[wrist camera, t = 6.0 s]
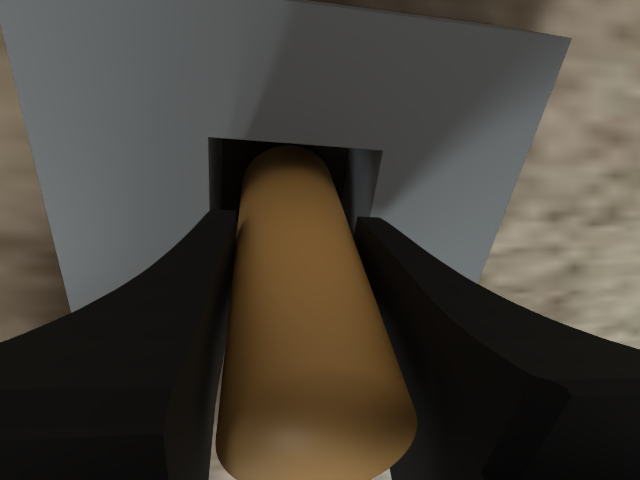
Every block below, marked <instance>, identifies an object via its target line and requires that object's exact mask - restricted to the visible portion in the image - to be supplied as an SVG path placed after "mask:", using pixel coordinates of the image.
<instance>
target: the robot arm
mask: <svg viewBox="0 0 640 480" xmlns="http://www.w3.org/2000/svg"><path fill="white" fill-rule="evenodd" d="M353 239H354V241H355V244H356V247H357V250H358V253H359V255H360V258H361V261H362V264H363V267H364V269H365V272H366V275H367V278H368V280H369V283H370V286H371V289H372V292H373V294H374V297H375V300H376V303H377V306H378V308H379V311H380V314H381V317H382V319H383V322H384V325H385V328H386V331H387V333H388V336H389V339H390V342H391V345H392V347H393V350H394V353H395V356H396V358H397V361H398V364H399V367H400V370H401V372H402V375H403V378H404V381H405V384H406V386H407V389H408V392H409V395H410V397H411V400H412V403H413V406H414V409H415V412H416V415H417V430H416V434H415V437H414V440H413V442H412V443H411V445H410V447H409V448H408V450H407V451H406V453H405V454H404V455H403V456H402V457H401V458H400V459H399V460H398V461H397V462H396V463H395V464H394V465H393V466H391V467H390V472H391V477H392V480H640V349H636V348H633V347H630V346H626V345H623V344H620V343H616V342H613V341H609V340H606V339H603V338H600V337H598V336H595V335H592V334H589V333H586V332H584V331H581V330H578V329H575V328H573V327H570V326H567V325H564V324H562V323H559V322H557V321H554V320H552V319H549V318H547V317H544V316H542V315H540V314H538V313H535V312H533V311H531V310H529V309H526V308H524V307H522V306H520V305H517V304H515V303H513V302H511V301H509V300H507V299H505V298H503V297H501V296H499V295H497V294H495V293H493V292H491V291H490V290H488V289H486V288H484V287H482V286H480V285H479V284H477V283H475V282H473V281H471V280H470V279H468V278H466V277H465V276H463V275H461V274H460V273H458V272H457V271H455V270H454V269H452V268H451V267H449V266H448V265H446V264H444V263H443V262H441V261H440V260H439V259H437V258H436V257H434V256H433V255H431V254H430V253H429V252H427V251H426V250H424V249H423V248H422V247H420V246H419V245H418V244H416V243H415V242H414V241H412V240H411V239H410V238H408V237H407V236H406V235H404V234H403V233H402V232H400V231H399V230H398V229H396V228H395V227H394V226H392V225H391V224H389V223H388V222H386V221H385V220H383V219H381V218H380V217H360V216H357V220H356V225H355V231H354V236H353ZM235 248H236V210H218V209H211V210H210V211H208V212H207V213H206V214H205V215H204V216H203V218H202V219H201V220H200V221H199V222H198V223H197V224H196V225H195V226H194V227H193V228H192V229H191V230H190V231H189V232H188V233H187V234H186V235H185V236H184V237H183V238H182V239H181V240H180V241H179V242H178V243H177V244H176V245H175V246H174V247H173V248H172V249H170V250H169V251H168V252H167V253H166V254H165V255H163V256H162V257H161V258H160V259H159V260H157V261H156V262H155V263H154V264H153V265H151V266H150V267H149V268H147V269H146V270H145V271H143V272H142V273H140V274H139V275H137V276H136V277H134V278H133V279H131V280H130V281H128V282H127V283H125V284H124V285H122V286H120V287H119V288H117V289H115V290H114V291H112V292H110V293H108V294H106V295H104V296H102V297H101V298H99V299H97V300H95V301H93V302H91V303H89V304H88V305H86V306H84V307H82V308H80V309H78V310H76V311H74V312H72V313H70V314H68V315H66V316H63V317H61V318H59V319H57V320H55V321H53V322H50V323H48V324H46V325H43V326H41V327H38V328H36V329H34V330H31V331H29V332H27V333H24V334H22V335H19V336H17V337H14V338H11V339H9V340H6V341H3V342H0V480H208V479H209V468H210V457H211V446H212V435H213V424H214V413H215V403H216V396H217V389H218V383H219V378H220V373H221V368H222V363H223V358H224V353H225V346H226V336H227V326H228V316H229V306H230V297H231V287H232V277H233V267H234V258H235Z"/></svg>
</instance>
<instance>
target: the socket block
mask: <svg viewBox="0 0 640 480" xmlns="http://www.w3.org/2000/svg"><path fill="white" fill-rule="evenodd" d="M0 24H1V28H2V32H3V36H4V40H5V44H6V49H7V53H8V57H9V61H10V65H11V69H12V73H13V77H14V81H15V85H16V89H17V93H18V98H19V102H20V106H21V110H22V114H23V118H24V122H25V126H26V130H27V134H28V138H29V143H30V147H31V151H32V155H33V159H34V163H35V167H36V171H37V175H38V179H39V183H40V187H41V192H42V196H43V200H44V204H45V208H46V212H47V216H48V220H49V224H50V228H51V232H52V236H53V241H54V245H55V249H56V253H57V257H58V261H59V265H60V269H61V273H62V277H63V281H64V285H65V290H66V294H67V298H68V302H69V306H70V310H71V313H72V312H74V311H76V310H78V309H80V308H82V307H84V306H86V305H88V304H89V303H91V302H93V301H95V300H97V299H99V298H101V297H102V296H104V295H106V294H108V293H110V292H112V291H114V290H115V289H117V288H119V287H120V286H122V285H124V284H125V283H127V282H128V281H130V280H131V279H133V278H134V277H136V276H137V275H139V274H140V273H142V272H143V271H145V270H146V269H147V268H149V267H150V266H151V265H153V264H154V263H155V262H156V261H157V260H159V259H160V258H161V257H162V256H163V255H165V254H166V253H167V252H168V251H169V250H170V249H172V248H173V247H174V246H175V245H176V244H177V243H178V242H179V241H180V240H181V239H182V238H183V237H184V236H185V235H186V234H187V233H188V232H189V231H190V230H191V229H192V228H193V227H194V226H195V225H196V224H197V223H198V222H199V221H200V220H201V219H202V218H203V216H204V215H205V214H206V213H207V212H208V211H210V210H211V209H218V210H222V175H221V138H228V139H241V140H254V141H267V142H280V143H293V144H306V145H319V146H332V147H345V148H350V149H349V155H348V161H347V168H346V174H345V180H344V187H343V193H342V199H341V205H342V208H343V211H344V214H345V216H346V219H347V222H348V225H349V228H350V230H351V233H352V236H354V231H355V225H356V220H357V216H360V217H380V218H381V219H383V220H385V221H386V222H388V223H389V224H391V225H392V226H394V227H395V228H396V229H398V230H399V231H400V232H402V233H403V234H404V235H406V236H407V237H408V238H410V239H411V240H412V241H414V242H415V243H416V244H418V245H419V246H420V247H422V248H423V249H424V250H426V251H427V252H429V253H430V254H431V255H433V256H434V257H436V258H437V259H439V260H440V261H441V262H443V263H444V264H446V265H448V266H449V267H451V268H452V269H454V270H455V271H457V272H458V273H460V274H461V275H463V276H465V277H466V278H468V279H470V280H471V281H473V282H475V283H478V280H479V278H480V275H481V273H482V270H483V268H484V265H485V262H486V260H487V257H488V255H489V252H490V249H491V247H492V244H493V242H494V239H495V236H496V234H497V231H498V229H499V226H500V223H501V221H502V218H503V216H504V213H505V210H506V208H507V205H508V203H509V200H510V197H511V195H512V192H513V190H514V187H515V184H516V182H517V179H518V177H519V174H520V172H521V169H522V166H523V164H524V161H525V159H526V156H527V153H528V151H529V148H530V146H531V143H532V140H533V138H534V135H535V133H536V130H537V127H538V125H539V122H540V120H541V117H542V114H543V112H544V109H545V107H546V104H547V101H548V99H549V96H550V94H551V91H552V89H553V86H554V83H555V81H556V78H557V76H558V73H559V70H560V68H561V65H562V63H563V60H564V57H565V55H566V52H567V50H568V47H569V44H570V42H571V39H572V38H568V37H562V36H556V35H550V34H544V33H539V32H533V31H527V30H521V29H516V28H510V27H504V26H498V25H492V24H484V23H477V22H469V21H462V20H454V19H446V18H439V17H431V16H424V15H416V14H409V13H401V12H394V11H386V10H379V9H371V8H364V7H356V6H349V5H341V4H334V3H326V2H319V1H311V0H0ZM237 228H238V221H236V238H237ZM224 355H225V353H224Z"/></svg>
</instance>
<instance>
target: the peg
mask: <svg viewBox="0 0 640 480" xmlns="http://www.w3.org/2000/svg"><path fill="white" fill-rule="evenodd" d="M416 430H417V415H416V412H415V409H414V406H413V403H412V400H411V397H410V395H409V392H408V389H407V386H406V384H405V381H404V378H403V375H402V372H401V370H400V367H399V364H398V361H397V358H396V356H395V353H394V350H393V347H392V345H391V342H390V339H389V336H388V333H387V331H386V328H385V325H384V322H383V319H382V317H381V314H380V311H379V308H378V306H377V303H376V300H375V297H374V294H373V292H372V289H371V286H370V283H369V280H368V278H367V275H366V272H365V269H364V267H363V264H362V261H361V258H360V255H359V253H358V250H357V247H356V244H355V241H354V239H353V236H352V233H351V230H350V228H349V225H348V222H347V219H346V216H345V214H344V211H343V208H342V205H341V202H340V200H339V197H338V194H337V191H336V189H335V186H334V183H333V180H332V177H331V175H330V172H329V170H328V168H327V166H326V165H325V163H324V162H323V161H322V160H321V159H320V158H319V157H318V156H317V155H316V154H314V153H313V152H311V151H309V150H307V149H304V148H301V147H297V146H278V147H274V148H271V149H268V150H266V151H264V152H263V153H261V154H260V155H258V156H257V157H256V158H255V159H254V160H253V161H252V162H251V163H250V164H249V166H248V168H247V169H246V171H245V174H244V177H243V181H242V189H241V199H240V209H239V219H238V228H237V238H236V248H235V258H234V267H233V277H232V287H231V297H230V306H229V316H228V326H227V336H226V346H225V355H224V365H223V375H222V385H221V394H220V404H219V414H218V424H217V433H216V443H215V444H216V453H217V456H218V459H219V461H220V463H221V464H222V466H223V467H224V468H225V470H226V471H227V472H228V473H229V474H230V475H231V476H233V477H234V478H235V479H237V480H370V479H372V478H374V477H376V476H378V475H380V474H381V473H383V472H384V471H386V470H387V469H389V468H390V467H391V466H393V465H394V464H395V463H396V462H397V461H398V460H399V459H400V458H401V457H402V456H403V455H404V454H405V453H406V451H407V450H408V448H409V447H410V445H411V443H412V442H413V440H414V437H415V434H416Z"/></svg>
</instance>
